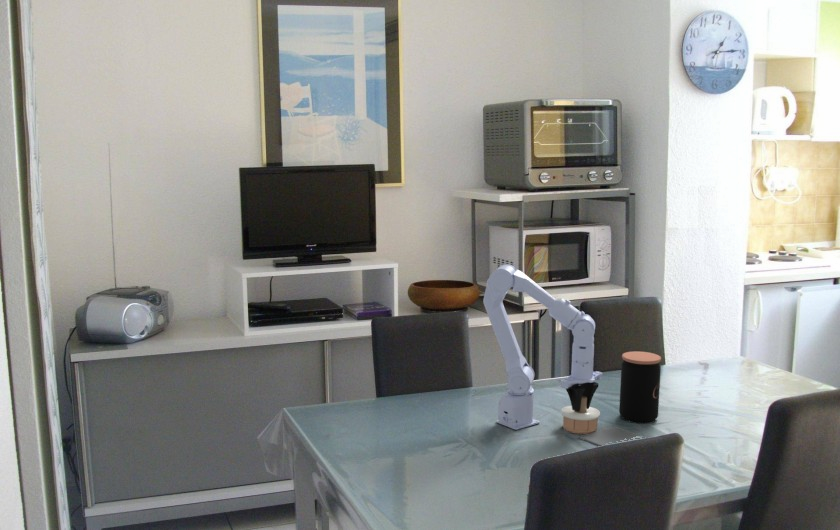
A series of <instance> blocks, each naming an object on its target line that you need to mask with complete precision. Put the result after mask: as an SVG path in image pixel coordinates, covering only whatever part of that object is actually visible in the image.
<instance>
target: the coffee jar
mask: <svg viewBox="0 0 840 530" xmlns="http://www.w3.org/2000/svg"><path fill="white" fill-rule="evenodd" d="M621 358H622V360H623V361H622V362H621V369H620V387H619V388H620V390H619V392H620V393H619V409H618V412H619V415H620V417H621V418H622V419H623V420H624V419H625V421H626V420H627V422H629V421H630V423H633V422H636V424H651V423H654V422H655V421H656V419H658V417H659V408H660V407H659V405H660V387H661V369H662V368H661V367H662V366H661V364H660V363H661V361H662V357H661V355H658V354H656V353H653V352H649V351H648V352H647V351H639V350H638V351H635V350H634V351H627V352H624V353H622V355H621Z"/></svg>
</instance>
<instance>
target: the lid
mask: <svg viewBox="0 0 840 530" xmlns="http://www.w3.org/2000/svg"><path fill="white" fill-rule="evenodd" d="M560 414H561V415H562V417H563V416H564V417H566V418H569V419H573V420H580V421H589V420H595V419H597V418H598V419H599V418H600V417H601V412H600V410H599V409H597V408H595V407H591V406H590V407H589V409H587V397H586V396H582V399H581V407H580V411H579V412H577V411H574V410H572V405H571V404H570V405H567V406H564V407H562V408H561V410H560Z"/></svg>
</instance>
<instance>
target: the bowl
mask: <svg viewBox="0 0 840 530" xmlns="http://www.w3.org/2000/svg"><path fill="white" fill-rule="evenodd" d="M598 419H599V418H597V419H595V420H589V421H580V420H573V419H569V418H566V417H564V416H563V415H562V427H563V430H564V431H566V432H569V433H572V434H576V435H577V434H578V435H586V434H590V433H593V432H595V431H598V430H597V429H598Z"/></svg>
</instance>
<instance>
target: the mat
mask: <svg viewBox="0 0 840 530" xmlns="http://www.w3.org/2000/svg"><path fill="white" fill-rule="evenodd" d="M636 436H641V434H638V433H634V432H632V431H630V430H627V429H623V428H620V427H617V426H615V425H613V426H609V427H605V428H603V429H600V430H596V432H593V433H590V434H582V435H580V436H578V439H580V440H582V441H585V442H587V441H588V443H590V444H593V445H595V446H597V447H600V446H602V445H605V444H606V443H608V444H612V443H617V442H616V441H618V442H622V441H620V440H624V439H625V438H626V439H627V440H624V441H628V440H629V439H630V440H633V439H631V438H633V437H636ZM642 438H645V436H643V437H642ZM635 439H640V438H635ZM609 442H612V443H609Z"/></svg>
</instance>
